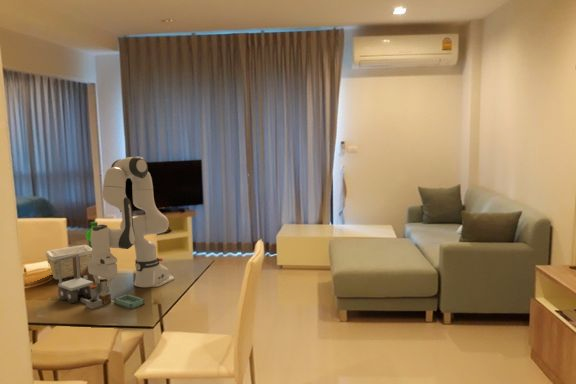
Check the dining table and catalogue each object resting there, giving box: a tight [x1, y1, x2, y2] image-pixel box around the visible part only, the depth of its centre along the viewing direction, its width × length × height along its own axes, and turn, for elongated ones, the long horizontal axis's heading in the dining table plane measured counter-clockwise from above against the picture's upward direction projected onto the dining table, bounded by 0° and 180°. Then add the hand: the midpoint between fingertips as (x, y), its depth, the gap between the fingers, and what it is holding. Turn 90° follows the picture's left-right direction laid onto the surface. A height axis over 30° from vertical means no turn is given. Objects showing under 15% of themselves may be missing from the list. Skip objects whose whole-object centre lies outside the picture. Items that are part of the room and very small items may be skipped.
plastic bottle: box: [85, 221, 99, 248], centre depth 314 cm, size 10×10×25 cm
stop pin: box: [89, 283, 98, 302], centre depth 236 cm, size 3×3×11 cm
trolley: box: [57, 254, 103, 310], centre depth 242 cm, size 12×27×21 cm, turn 55°
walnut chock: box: [98, 292, 112, 305], centre depth 241 cm, size 4×4×4 cm
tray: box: [114, 293, 145, 310], centre depth 239 cm, size 8×13×2 cm, turn 55°
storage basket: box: [45, 244, 92, 280], centre depth 286 cm, size 24×16×15 cm
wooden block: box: [72, 256, 96, 284], centre depth 262 cm, size 4×11×18 cm, turn 119°
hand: (103, 285), depth 239 cm, fingers open, 8 cm apart
